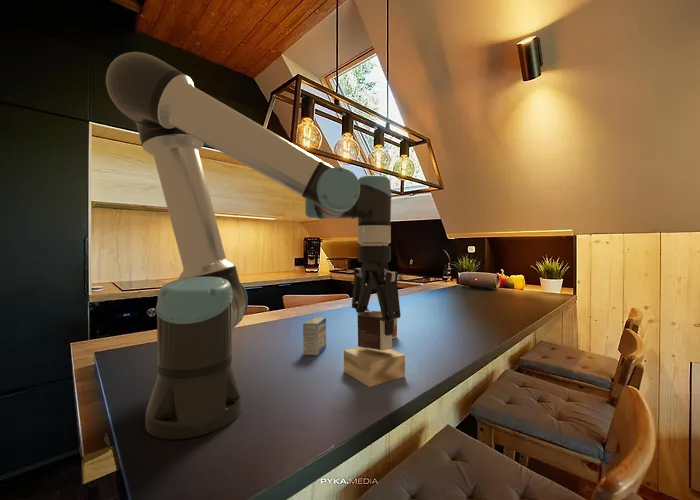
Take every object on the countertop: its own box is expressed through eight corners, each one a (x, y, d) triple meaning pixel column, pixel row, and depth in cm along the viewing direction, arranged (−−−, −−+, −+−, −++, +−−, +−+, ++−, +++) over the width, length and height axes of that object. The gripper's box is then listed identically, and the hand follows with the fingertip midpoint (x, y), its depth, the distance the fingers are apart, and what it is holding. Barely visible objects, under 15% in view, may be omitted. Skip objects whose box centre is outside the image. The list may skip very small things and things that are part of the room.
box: (381, 351, 71) (381, 317, 71) (357, 347, 74) (356, 314, 74) (392, 343, 77) (392, 312, 77) (369, 340, 80) (368, 309, 79)
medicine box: (318, 356, 88) (318, 323, 87) (302, 355, 88) (302, 323, 88) (326, 347, 95) (326, 317, 95) (311, 346, 96) (311, 316, 96)
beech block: (368, 387, 69) (369, 363, 69) (343, 371, 77) (343, 350, 77) (404, 376, 74) (405, 354, 74) (377, 363, 82) (377, 343, 82)
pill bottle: (374, 338, 105) (374, 303, 104) (382, 333, 110) (382, 300, 110) (393, 340, 102) (393, 305, 102) (399, 336, 107) (399, 302, 107)
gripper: (418, 245, 68) (418, 353, 69) (361, 244, 86) (361, 331, 86) (390, 245, 64) (390, 360, 65) (337, 244, 82) (337, 336, 82)
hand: (374, 344), depth 75 cm, fingers closed on box, 8 cm apart
